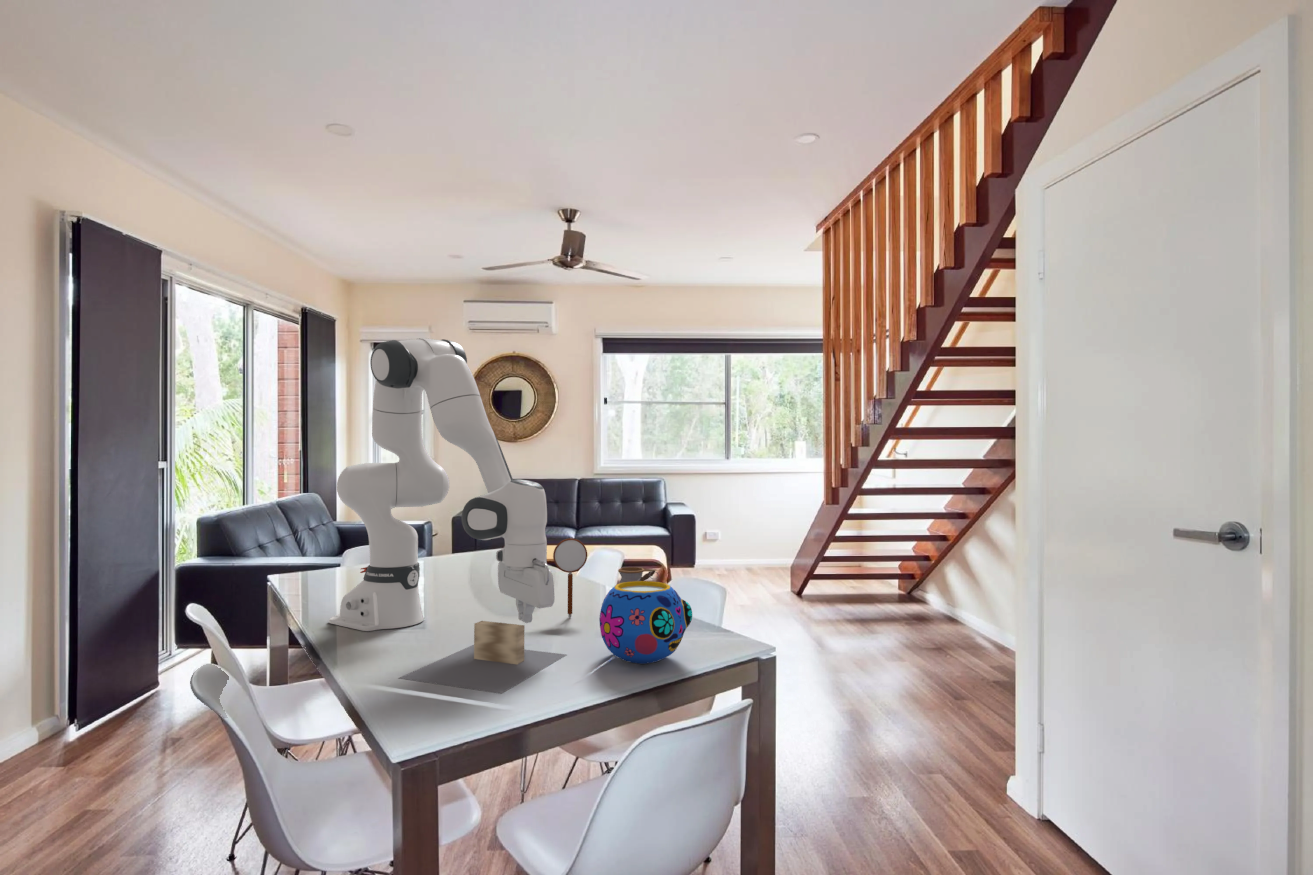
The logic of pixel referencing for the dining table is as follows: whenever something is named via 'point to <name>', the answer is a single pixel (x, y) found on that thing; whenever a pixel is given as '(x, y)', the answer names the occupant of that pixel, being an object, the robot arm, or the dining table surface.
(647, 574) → the coffee pot
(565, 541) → the magnifying glass
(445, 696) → the dining table surface
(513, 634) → the birch tile
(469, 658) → the rubber mat
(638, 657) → the ceramic pot
